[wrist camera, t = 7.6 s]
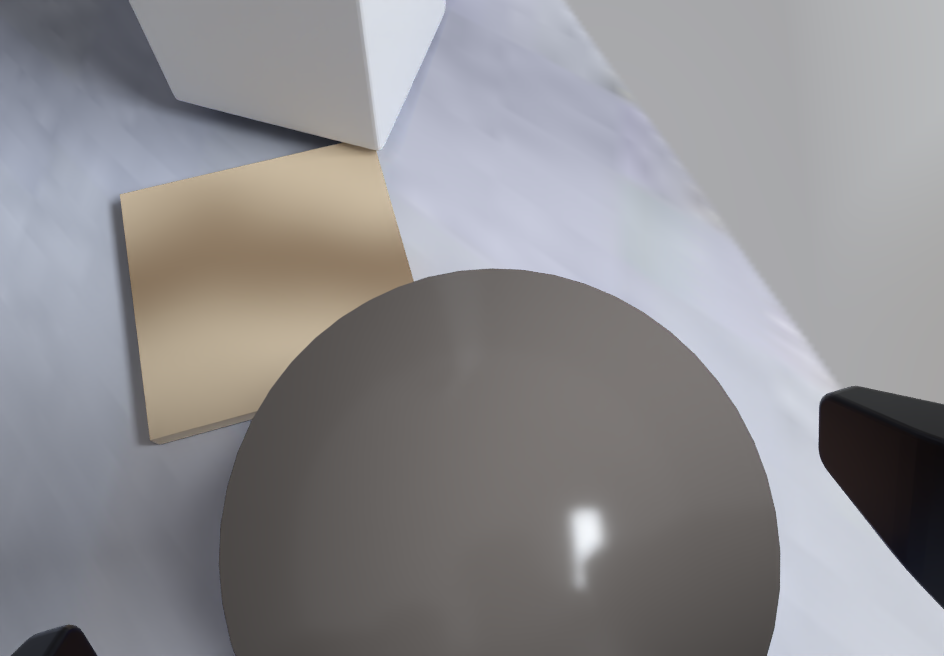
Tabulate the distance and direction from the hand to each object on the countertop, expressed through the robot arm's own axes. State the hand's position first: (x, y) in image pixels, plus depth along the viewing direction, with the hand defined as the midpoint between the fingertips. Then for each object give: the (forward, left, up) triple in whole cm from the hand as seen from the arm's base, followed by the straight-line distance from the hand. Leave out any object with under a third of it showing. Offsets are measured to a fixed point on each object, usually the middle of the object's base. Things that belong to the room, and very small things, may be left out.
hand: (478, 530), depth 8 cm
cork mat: (+9, +3, -10) cm, 15 cm away
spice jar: (0, 0, -9) cm, 10 cm away
